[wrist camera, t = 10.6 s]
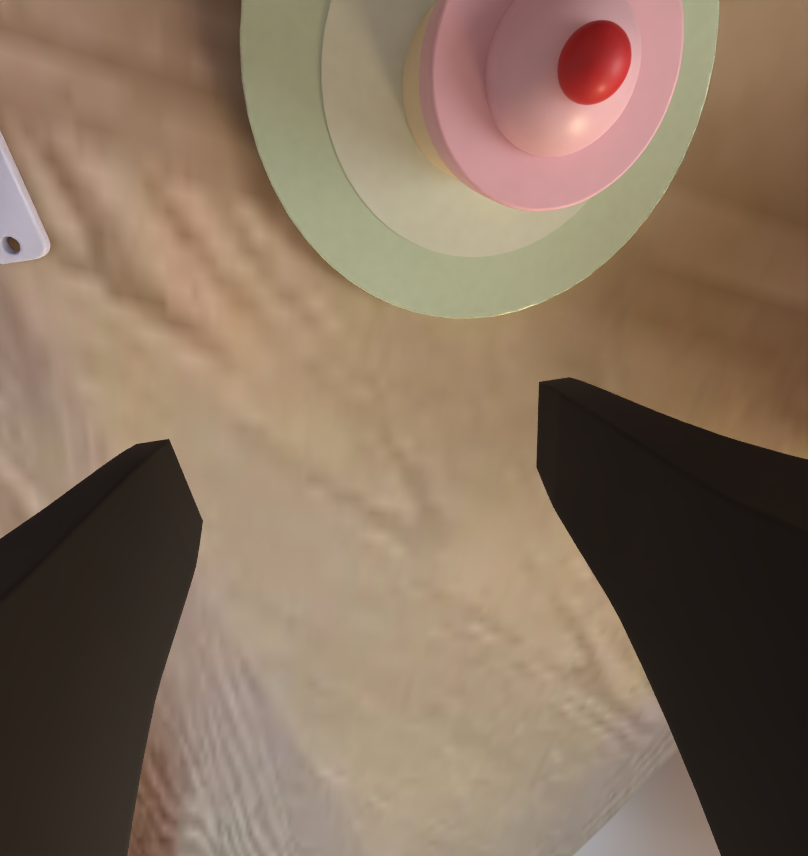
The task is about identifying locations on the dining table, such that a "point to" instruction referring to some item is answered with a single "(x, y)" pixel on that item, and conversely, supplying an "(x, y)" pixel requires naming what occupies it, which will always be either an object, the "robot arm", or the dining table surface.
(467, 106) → the cupcake
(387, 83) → the plate
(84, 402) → the dining table surface
